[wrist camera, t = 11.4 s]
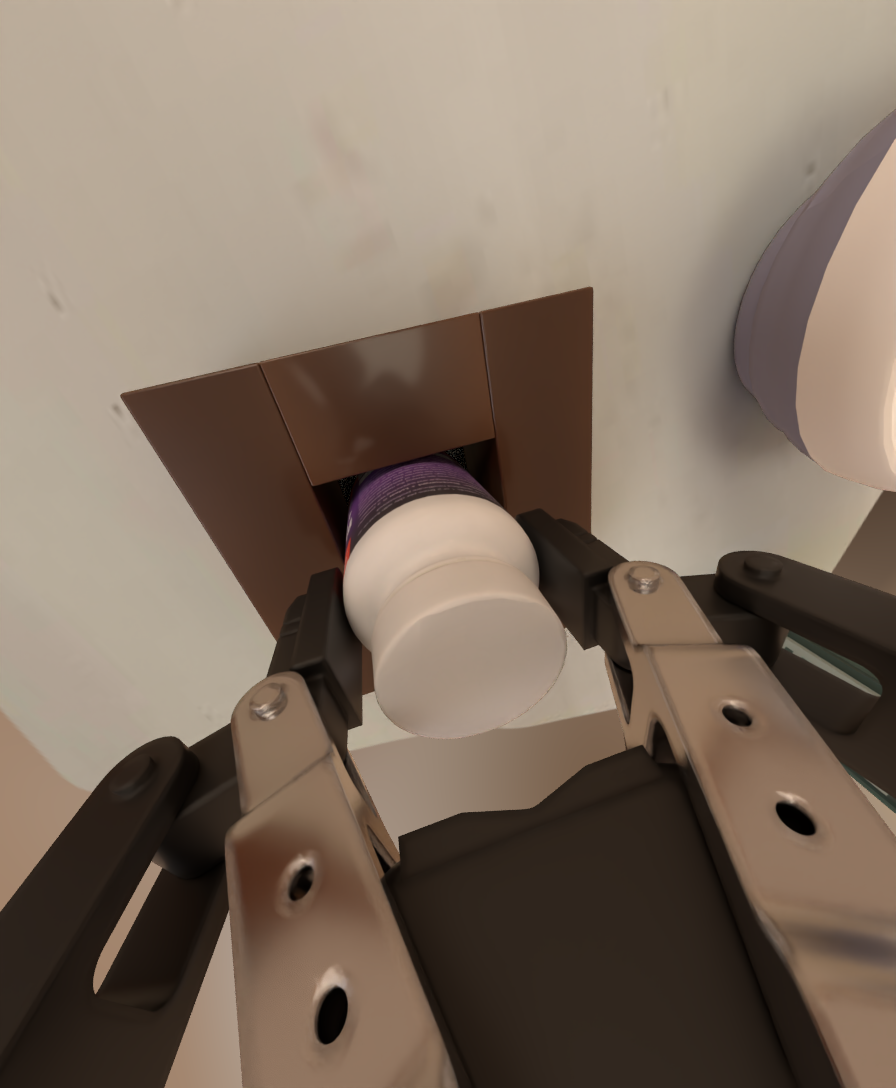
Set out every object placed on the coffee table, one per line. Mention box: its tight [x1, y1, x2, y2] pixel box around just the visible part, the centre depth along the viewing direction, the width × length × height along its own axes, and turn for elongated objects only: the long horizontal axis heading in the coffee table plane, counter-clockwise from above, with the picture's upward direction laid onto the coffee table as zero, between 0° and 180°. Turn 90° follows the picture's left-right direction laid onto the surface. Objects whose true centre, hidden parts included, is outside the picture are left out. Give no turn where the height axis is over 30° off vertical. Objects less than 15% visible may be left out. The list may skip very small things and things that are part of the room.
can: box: [782, 631, 896, 813], centre depth 19 cm, size 6×6×15 cm
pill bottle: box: [343, 452, 567, 739], centre depth 11 cm, size 5×5×10 cm
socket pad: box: [120, 287, 593, 695], centre depth 14 cm, size 13×13×5 cm
